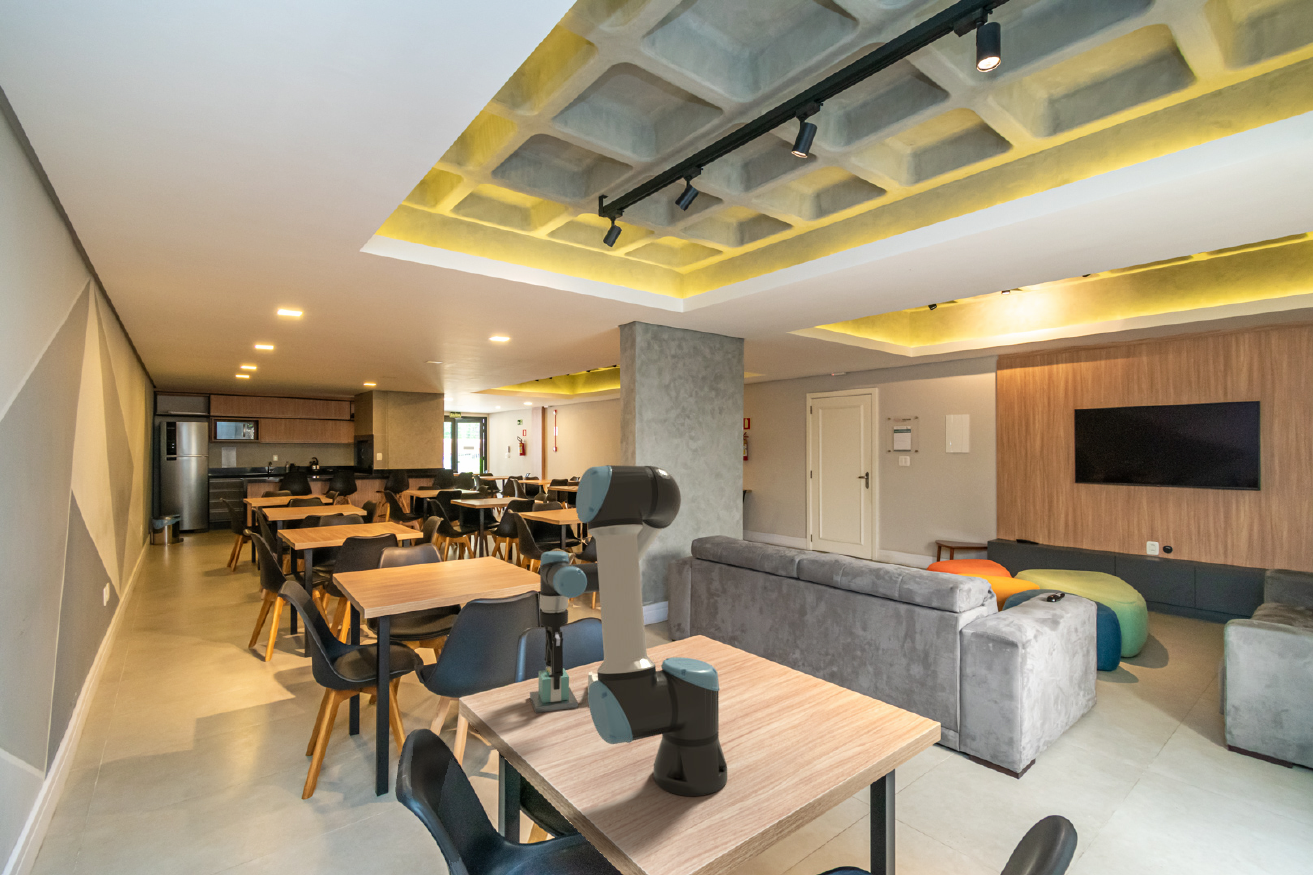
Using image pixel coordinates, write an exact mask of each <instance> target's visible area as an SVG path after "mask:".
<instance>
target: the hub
mask: <svg viewBox="0 0 1313 875" xmlns="http://www.w3.org/2000/svg"><path fill="white" fill-rule="evenodd" d="M569 687H570V676H569V673H568V672H567V671H566V669H565V668H564V667H563V676H561V701H562V700H569ZM550 690H551V678H549V669H548V670H546V669H545V670H538V691H539V696H540V698H541V701H542V703H547V702H551V701H550Z"/></svg>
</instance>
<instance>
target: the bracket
mask: <svg viewBox="0 0 1313 875" xmlns="http://www.w3.org/2000/svg"><path fill="white" fill-rule="evenodd" d="M596 680H598V673H594V672H593V671H589V672H588V674H587V694H588V693H589V686H590V685H591V683H593V682H594V681H596ZM587 703H589V701H588V700H587Z"/></svg>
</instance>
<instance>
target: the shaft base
mask: <svg viewBox="0 0 1313 875" xmlns="http://www.w3.org/2000/svg"><path fill="white" fill-rule="evenodd" d="M551 674H552V670H551V666H550V667H549V675H551ZM529 698H530V699H529V700H530V701H531V704H532V707H533V710H534V712H535V714H539V713H548V712H554V711H555V712H557V711H565V710H570V709H578V707H579V704H578V702H579V701H578V699H577V698H576V696H575V695H574V692H573V691H572V689H571V687H570V686H569V700H562V701H555V702H547V703H542V701H541V698H540V696H539V690H538V691H537V690H536V691H530V692H529Z"/></svg>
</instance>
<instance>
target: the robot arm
mask: <svg viewBox="0 0 1313 875" xmlns="http://www.w3.org/2000/svg"><path fill="white" fill-rule="evenodd" d="M679 487H680V486H679V485H678V483H677V481H676V479H675V478H674V477H673V476H672V474H670V473H669V472H667V471H666V470H665V469H663V468H661V467H658V466H655V465H654V466H653V465H612V464H611V465H609V464H607V465H600V466H599V465H598V466H591V467H589V468H587V469H586V470H585V471H584V472H583V474H582V476H581V478H580V480H579V483H578V486H577V492H576V498H575V510H576V514H577V518H578V520H579V521H580V522H581V523H583V524H586V525H587V533H588V534H589V535H591V536H592V537H593V538H594V540H595V548H596V549H595V550H596V559H597V560H596V562H588V563H587V562H586V563H575V564H574V563H573V564H570V561H569V560H570V559H569V558H570V557H569V553H568V552H566V551H563V550H559V551H558V550H552V551H551V550H550V551H545V552H543V553H541V555H540V564H539V569H540V571H539V572H540V575H539V576H540V582H539V583H540V588H539V589H540V590H539V591H540V592H539V608H540V611H539V624H540V626H542V627H544V629H545V633H544V634H545V637H544V638H545V640H544V641H545V642H544V661H545V665H546V666H545V670H548V669H549V667H550V666H551V670H552V674H551V675H549V678H551V690H550V701H551V702H555V701H561V676H563V668H564V654H563V650H564V649H563V648H564V647H563V646H564V637H563V631H561V627H562V626H566V625H567V624H568V623H569V610H568V609H567V608H568V606H569V602H568V601H569V600H570V599H571V598H573V599H574V598H577V597H579V596H581V595H582V594H587V593H589V594H590V593H596V592H598V593H599V603H600V604H599V605H600V606H599V607H600V617H601V618H600V619H601V633H602V634H601V635H602V645H603V646H602V647H603V661H602V663H601V664H600V665H599V667H598V668H597V670H596V671H597V673H598V680H596V681H594V682H593V683H591V685H590V686H589V693H588V692H587V702H588V701H589V702H588V706H589V707H588V708H589V712H590V715H591V719H592V722H593V725H594V728H595V730H596V732H597V733H598V735H599V736H600V738H601V739H602V740H603V741H604V742H605V743H607V744H608V745H609V744H610V745H617V744H618V745H619V744H624V743H627V744H630V743H632V742H633V741H637V740H642V739H646V738H651V737H654V736H660V735H662V736H661V740H660V743H659V747H658V750H657V753H656V756H655V759H654V763H653V780H654V783H656V785H658V787H660V788H661V789H662V790H664V791H666V792H668V793H671V794H674V795H678V796H685V797H700V796H707V795H711V794H713V793H716V792H718V791H720V790H721V789H722V788H724V787H725V786H726V784H727V782H728V765H727V762H726V759H725V755H724V751H723V749H722V745H721V742H720V738H719V735H720V734H719V733H720V732H719V725H720V724H719V714H720V712H719V710H720V708H719V706H720V705H719V703H720V702H719V697H720V696H719V691H720V684H719V675H718V671H717V669H716V668H715V667H714V666H713V665H712V664H710V663H707V662H706V661H703V660H699V659H697V658H696V659H695V658H691V657H690V658H689V657H676V656H675V657H673V656H672V657H668V658H667V657H666V659H664V660H662V664H661V665H660V666H661V670H660V669H659V670H657V669H656V663H655V662H654V661H653V660H652V659H650V657H649V656H648V653H647V652H648V651H647V650H648V649H647V640H646V631H645V630H646V627H645V619H644V616H645V615H644V604H643V594H642V584H641V582H642V581H641V571H640V561H641V560H642V558H643V557H644V555H645V554H646V552H647V551H648V549H649V548H650V547H651V546H652V544H653V542H654V541H655V540H656V538H657V537H658V535H659V534H660V533H661V531H662V530H664V529H666V528H669V527H670V526H671V525H672V524H673V522H674V521H675V519H676V518H677V516H678V514H679V511H680V509H681V502H682V496H681V491H680V488H679Z"/></svg>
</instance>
